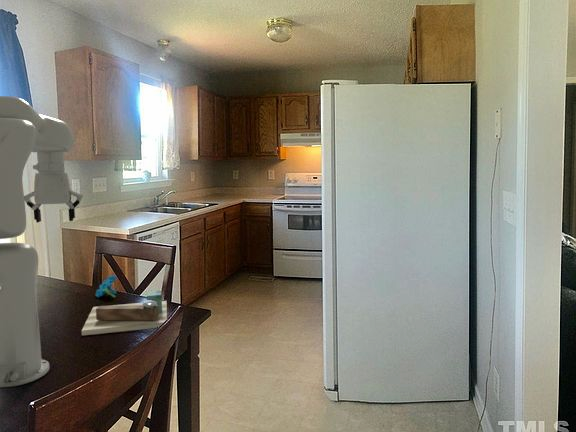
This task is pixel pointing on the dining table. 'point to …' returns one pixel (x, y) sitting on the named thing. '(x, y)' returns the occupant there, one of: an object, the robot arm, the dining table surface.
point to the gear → (106, 287)
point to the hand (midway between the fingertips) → (55, 221)
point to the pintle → (149, 304)
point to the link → (127, 313)
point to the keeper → (156, 298)
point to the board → (121, 322)
